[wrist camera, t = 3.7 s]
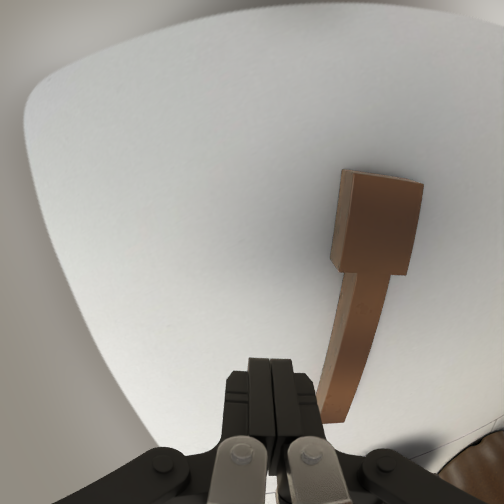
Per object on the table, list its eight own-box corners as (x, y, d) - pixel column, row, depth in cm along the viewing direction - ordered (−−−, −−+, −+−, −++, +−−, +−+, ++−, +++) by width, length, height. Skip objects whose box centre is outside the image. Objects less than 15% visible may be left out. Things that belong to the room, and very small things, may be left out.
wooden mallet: (350, 403, 21) (357, 421, 20) (299, 405, 21) (303, 424, 19) (407, 178, 16) (424, 184, 14) (341, 168, 16) (353, 172, 14)
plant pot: (535, 409, 26) (586, 481, 10) (475, 479, 31) (507, 547, 16) (467, 427, 24) (525, 533, 9) (399, 500, 30) (427, 588, 14)
